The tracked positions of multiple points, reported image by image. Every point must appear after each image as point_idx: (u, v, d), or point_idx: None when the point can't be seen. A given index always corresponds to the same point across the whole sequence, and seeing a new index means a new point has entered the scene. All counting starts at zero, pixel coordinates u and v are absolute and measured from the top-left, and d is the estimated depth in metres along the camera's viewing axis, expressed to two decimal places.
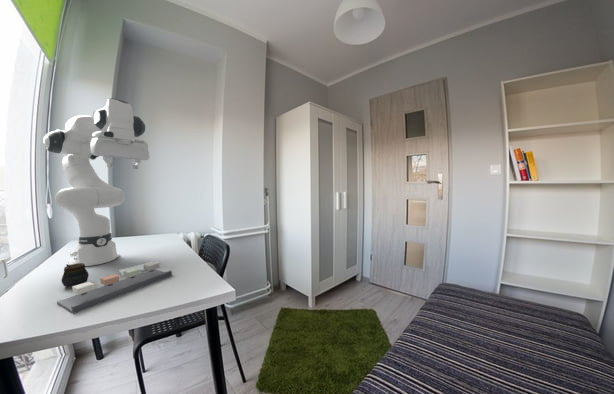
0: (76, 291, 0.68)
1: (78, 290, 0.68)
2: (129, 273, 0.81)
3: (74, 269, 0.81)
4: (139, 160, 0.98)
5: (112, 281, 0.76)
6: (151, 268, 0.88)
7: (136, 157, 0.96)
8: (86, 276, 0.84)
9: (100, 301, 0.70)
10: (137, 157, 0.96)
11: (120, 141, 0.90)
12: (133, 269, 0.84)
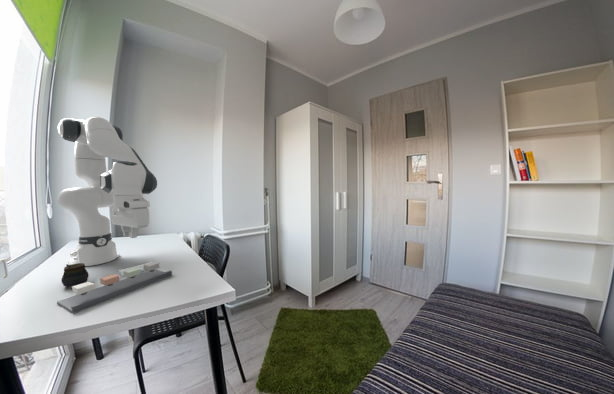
0: (76, 291, 0.68)
1: (78, 290, 0.68)
2: (129, 273, 0.81)
3: (74, 269, 0.81)
4: None
5: (112, 281, 0.76)
6: (151, 268, 0.88)
7: None
8: (86, 276, 0.84)
9: (100, 301, 0.70)
10: None
11: None
12: (133, 269, 0.84)
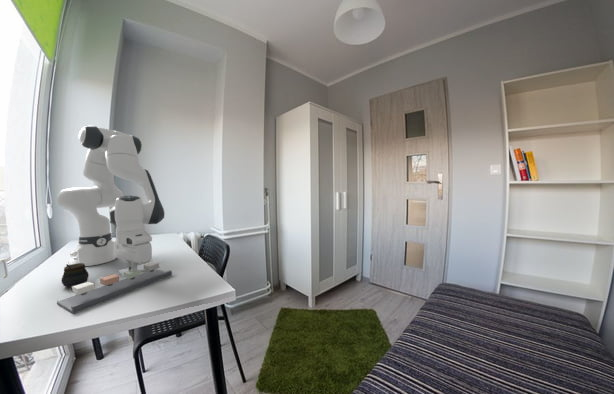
0: (76, 291, 0.68)
1: (78, 290, 0.68)
2: (129, 275, 0.81)
3: (74, 269, 0.81)
4: None
5: (112, 281, 0.76)
6: (151, 268, 0.88)
7: None
8: (86, 276, 0.84)
9: (100, 301, 0.70)
10: None
11: None
12: None
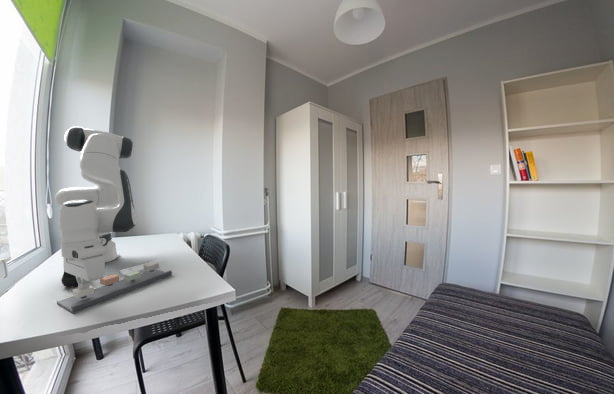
0: (76, 294, 0.68)
1: (78, 293, 0.68)
2: (130, 277, 0.81)
3: None
4: None
5: (112, 281, 0.76)
6: (151, 268, 0.88)
7: None
8: None
9: (100, 301, 0.70)
10: None
11: None
12: (133, 272, 0.84)
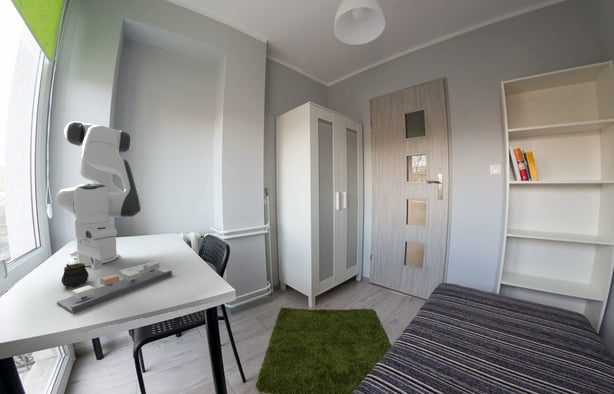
0: (76, 295, 0.68)
1: (78, 294, 0.68)
2: (130, 277, 0.81)
3: (74, 269, 0.81)
4: None
5: (112, 281, 0.76)
6: (151, 268, 0.88)
7: None
8: (86, 276, 0.84)
9: (100, 301, 0.70)
10: None
11: None
12: (133, 272, 0.84)
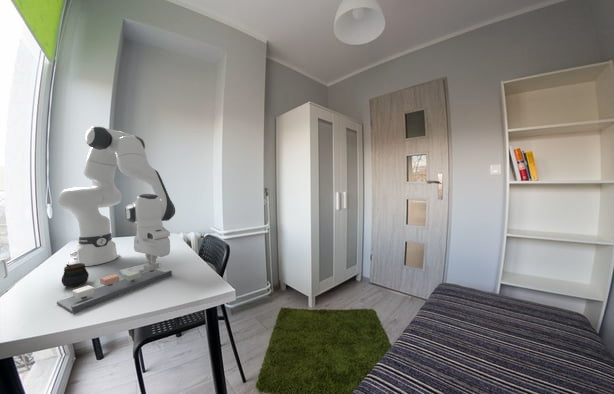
0: (76, 295, 0.68)
1: (78, 294, 0.68)
2: (130, 277, 0.81)
3: (74, 269, 0.81)
4: None
5: (112, 281, 0.76)
6: (151, 268, 0.88)
7: None
8: (86, 276, 0.84)
9: (100, 301, 0.70)
10: None
11: None
12: (133, 272, 0.84)
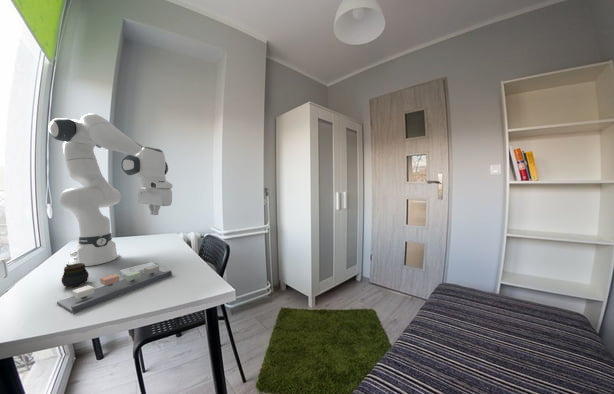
0: (76, 295, 0.68)
1: (78, 294, 0.68)
2: (130, 277, 0.81)
3: (74, 269, 0.81)
4: None
5: (112, 281, 0.76)
6: (151, 271, 0.88)
7: None
8: (86, 276, 0.84)
9: (100, 301, 0.70)
10: None
11: None
12: (133, 272, 0.84)
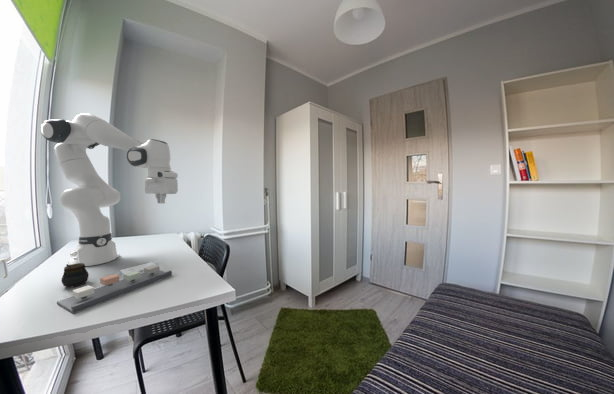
0: (76, 295, 0.68)
1: (78, 294, 0.68)
2: (130, 277, 0.81)
3: (74, 269, 0.81)
4: None
5: (112, 281, 0.76)
6: (151, 271, 0.88)
7: None
8: (86, 276, 0.84)
9: (100, 301, 0.70)
10: None
11: None
12: (133, 272, 0.84)
